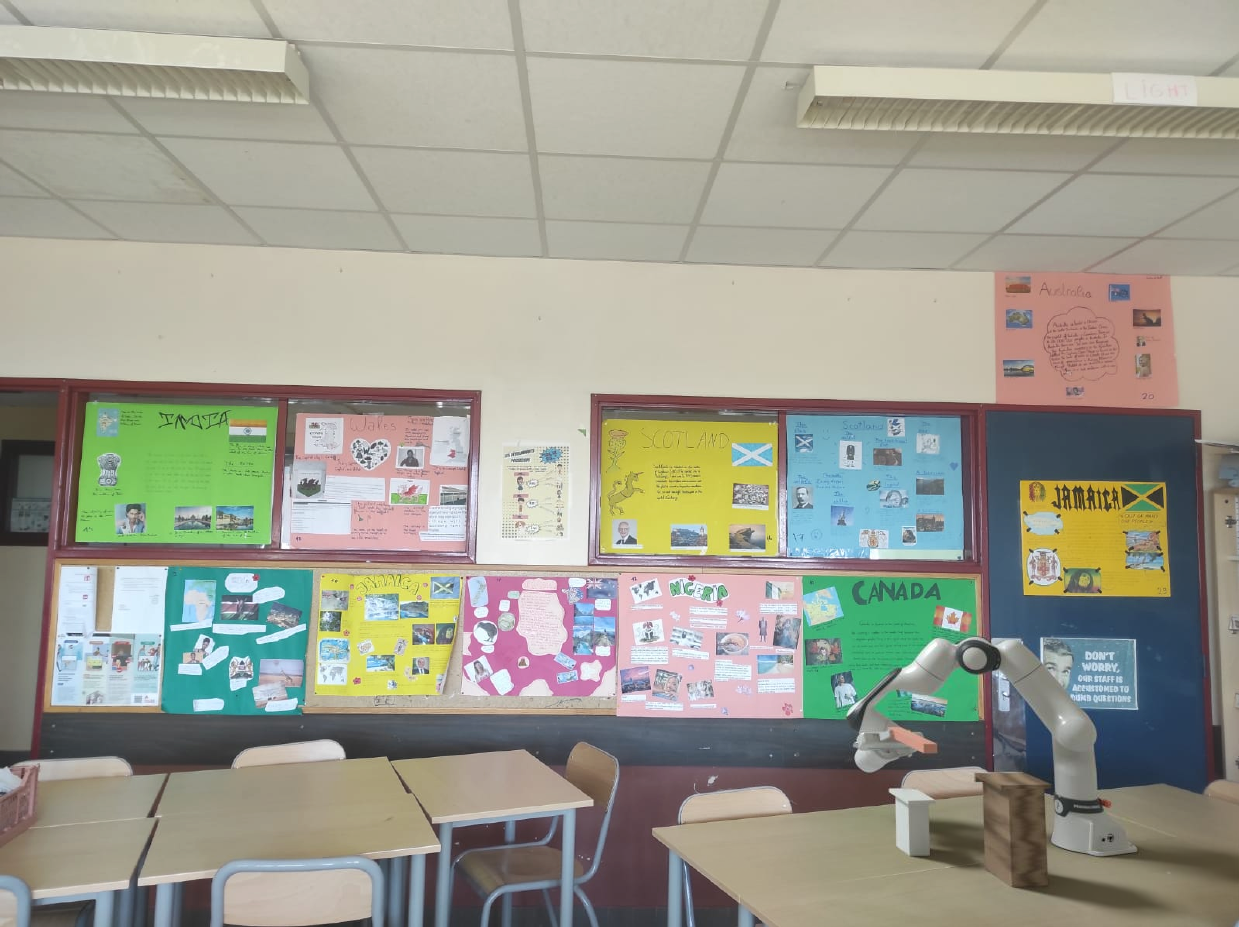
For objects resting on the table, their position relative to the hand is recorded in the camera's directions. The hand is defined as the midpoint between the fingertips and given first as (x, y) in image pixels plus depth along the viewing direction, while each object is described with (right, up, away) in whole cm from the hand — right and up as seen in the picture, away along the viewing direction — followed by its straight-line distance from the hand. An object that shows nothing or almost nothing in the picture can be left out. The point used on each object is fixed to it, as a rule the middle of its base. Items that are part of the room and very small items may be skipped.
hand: (899, 732), depth 246 cm
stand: (0, -30, -12) cm, 32 cm away
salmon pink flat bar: (+1, -1, -7) cm, 7 cm away
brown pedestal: (+20, -28, -30) cm, 46 cm away
